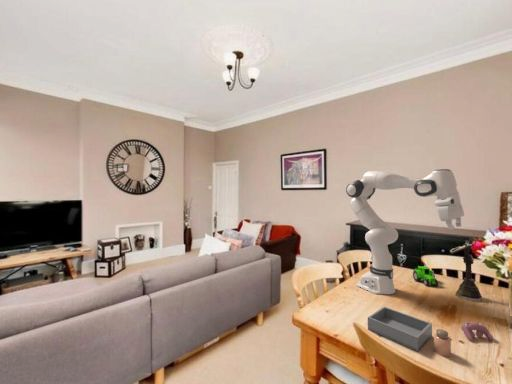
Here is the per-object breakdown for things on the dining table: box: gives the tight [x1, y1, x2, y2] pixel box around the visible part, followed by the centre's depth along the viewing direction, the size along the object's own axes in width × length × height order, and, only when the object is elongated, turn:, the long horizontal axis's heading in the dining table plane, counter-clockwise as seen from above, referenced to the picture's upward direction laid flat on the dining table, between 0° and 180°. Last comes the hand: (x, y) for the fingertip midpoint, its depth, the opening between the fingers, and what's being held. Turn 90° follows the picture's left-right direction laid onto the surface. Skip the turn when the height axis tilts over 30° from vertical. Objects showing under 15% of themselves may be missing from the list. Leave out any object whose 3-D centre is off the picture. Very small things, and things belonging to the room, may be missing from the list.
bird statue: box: [449, 237, 483, 303], centre depth 143 cm, size 17×13×35 cm
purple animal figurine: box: [460, 321, 494, 342], centre depth 104 cm, size 10×5×7 cm, turn 88°
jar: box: [433, 328, 452, 358], centre depth 95 cm, size 5×5×8 cm
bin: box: [367, 306, 433, 353], centre depth 108 cm, size 20×16×6 cm
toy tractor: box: [412, 265, 439, 287], centre depth 165 cm, size 11×16×10 cm
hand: (455, 227), depth 122 cm, fingers open, 8 cm apart
